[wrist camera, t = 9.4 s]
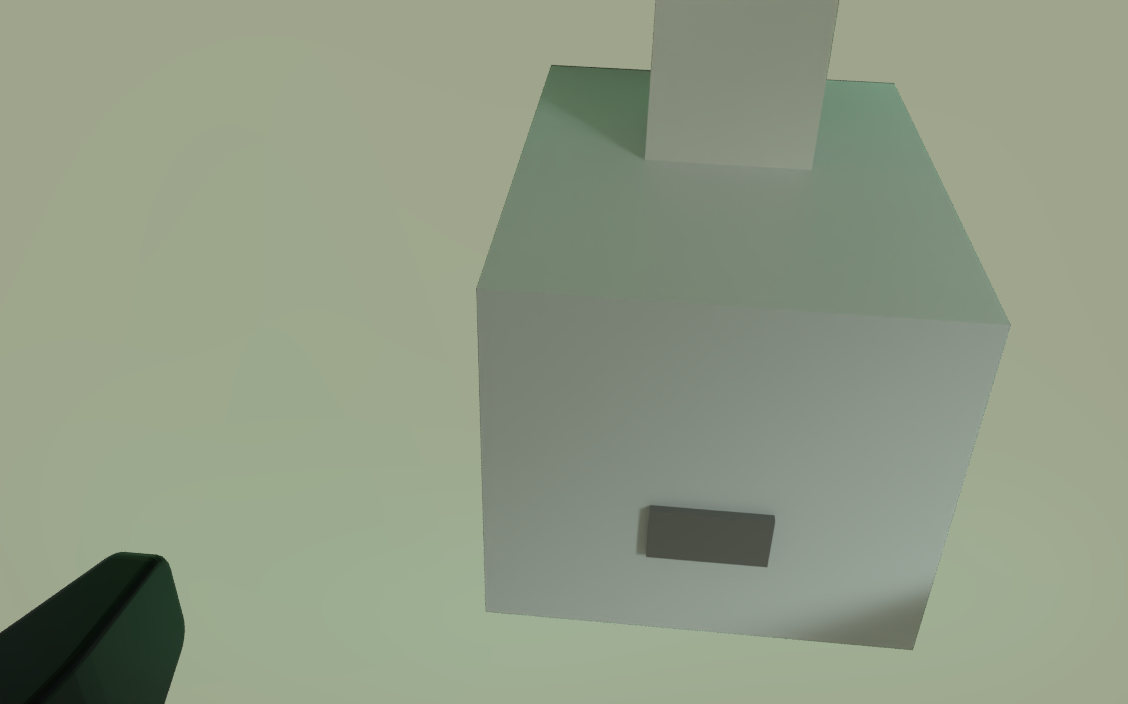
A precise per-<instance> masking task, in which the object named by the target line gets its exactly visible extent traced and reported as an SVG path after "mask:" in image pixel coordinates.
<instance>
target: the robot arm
mask: <svg viewBox="0 0 1128 704" xmlns="http://www.w3.org/2000/svg"><path fill="white" fill-rule="evenodd" d="M184 633H185V626H184V618H183V614H182V610H181V606H180V603H179V599H178V595H177V591H176V587H175V584H174V580H173V576H172V572H171V569H170V566H169V563H168V562H167V561H166V560H165V559H164V558H163V557H162V556H159V555H154V554H141V553H130V552H119V553H115V554H113V555H111V556H109V557H107V558H106V559H104V560H103V561H101V562H100V563H99V564H97V565H96V566H94V567H93V568H91V569H90V570H89V571H87V572H86V573H85V574H83V575H82V576H80V577H79V578H77V579H76V580H75V581H73V582H72V583H70V584H69V585H67V586H66V587H65V588H63V589H62V590H60V591H59V592H58V593H56V594H55V595H53V596H52V597H51V598H49V599H48V600H46V601H45V602H44V603H42V604H41V605H39V606H38V607H36V608H35V609H34V610H32V611H31V612H30V613H28V614H26V615H25V616H24V617H22V618H21V619H20V620H18V621H16V622H15V623H14V624H12V625H11V626H9V627H8V628H7V629H5V630H4V631H2V632H1V633H0V704H164V703H165V700H166V697H167V694H168V691H169V688H170V685H171V681H172V678H173V675H174V672H175V669H176V666H177V663H178V660H179V656H180V653H181V650H182V646H183V641H184Z"/></svg>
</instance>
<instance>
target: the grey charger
mask: <svg viewBox="0 0 1128 704" xmlns="http://www.w3.org/2000/svg"><path fill="white" fill-rule="evenodd" d="M838 5H839V0H656V3H655V17H654V18H655V19H654V32H653V47H652V48H653V49H652V62H651V70H639V69H620V68H600V67H582V66H563V65H551V68H550V71H549V74H548V77H547V80H546V83H545V86H544V89H543V92H542V95H541V97H540V101H539V103H538V107H537V109H536V112H535V115H534V118H533V121H532V124H531V127H530V130H529V133H528V137H527V140H526V142H525V145H524V148H523V151H522V154H521V157H520V160H519V163H518V166H517V169H516V172H515V175H514V178H513V181H512V184H511V187H510V190H509V193H508V196H507V199H506V202H505V205H504V208H503V211H502V214H501V217H500V220H499V223H498V226H497V229H496V232H495V235H494V238H493V241H492V244H491V247H490V250H489V253H488V256H487V259H486V262H485V265H484V268H483V270H482V273H481V277H480V279H479V282H478V285H477V288H476V292H477V327H478V362H479V395H480V396H479V397H480V427H481V428H480V431H481V464H482V465H481V466H482V499H483V536H484V566H485V567H484V570H485V601H486V602H485V605H486V612H495V613H506V614H518V615H528V616H539V617H551V618H562V619H572V620H584V621H596V622H606V623H617V624H628V625H640V626H651V627H661V628H673V629H684V630H695V631H706V632H717V633H728V634H729V633H730V634H739V635H750V636H763V637H773V638H784V639H795V640H807V641H817V642H829V643H839V644H851V645H863V646H873V647H885V648H895V649H906V650H913V648H914V644H915V641H916V638H917V634H918V631H919V628H920V624H921V621H922V618H923V614H924V611H925V608H926V605H927V601H928V597H929V594H930V591H931V588H932V585H933V581H934V578H935V574H936V571H937V568H938V565H939V561H940V558H941V555H942V551H943V548H944V545H945V542H946V538H947V535H948V532H949V528H950V525H951V522H952V518H953V515H954V511H955V508H956V505H957V502H958V498H959V495H960V492H961V488H962V485H963V482H964V478H965V475H966V472H967V469H968V465H969V462H970V459H971V455H972V452H973V449H974V445H975V442H976V439H977V436H978V432H979V429H980V425H981V422H982V419H983V416H984V412H985V409H986V406H987V402H988V399H989V396H990V392H991V389H992V385H993V383H994V379H995V375H996V372H997V369H998V366H999V363H1000V359H1001V356H1002V353H1003V349H1004V346H1005V343H1006V339H1007V336H1008V332H1009V330H1010V326H1011V325H1010V322H1009V320H1008V318H1007V316H1006V314H1005V312H1004V310H1003V308H1002V306H1001V304H1000V302H999V300H998V298H997V295H996V293H995V291H994V289H993V287H992V285H991V283H990V281H989V279H988V277H987V275H986V273H985V271H984V269H983V267H982V264H981V263H980V260H979V258H978V256H977V254H976V252H975V250H974V248H973V246H972V244H971V242H970V240H969V237H968V236H967V233H966V231H965V229H964V228H963V225H962V223H961V221H960V219H959V217H958V215H957V213H956V211H955V209H954V207H953V204H952V202H951V200H950V198H949V196H948V194H947V192H946V190H945V188H944V186H943V184H942V182H941V179H940V177H939V175H938V173H937V171H936V169H935V167H934V165H933V163H932V161H931V159H930V157H929V155H928V153H927V151H926V149H925V146H924V144H923V142H922V140H921V138H920V136H919V134H918V132H917V130H916V128H915V126H914V124H913V122H912V120H911V117H910V115H909V113H908V111H907V109H906V107H905V105H904V103H903V101H902V99H901V97H900V95H899V93H898V90H897V89H896V86H895V84H894V83H885V82H866V81H847V80H827V73H828V67H829V61H830V54H831V48H832V42H833V36H834V30H835V23H836V18H837V12H838Z"/></svg>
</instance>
